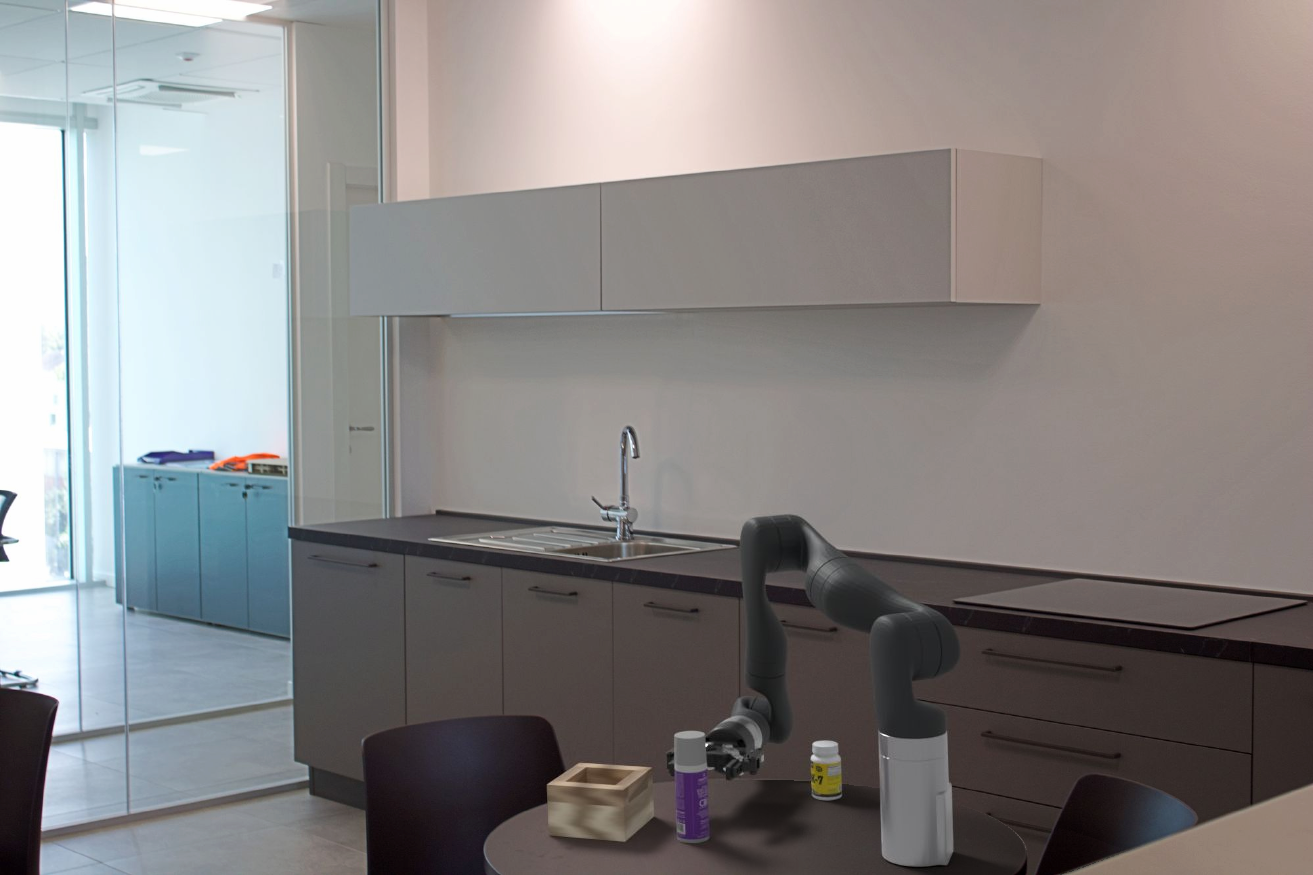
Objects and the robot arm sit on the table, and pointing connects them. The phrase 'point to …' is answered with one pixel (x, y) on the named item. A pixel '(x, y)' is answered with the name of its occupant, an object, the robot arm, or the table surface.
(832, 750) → the supplement bottle
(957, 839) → the table surface
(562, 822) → the wooden open tray
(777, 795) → the table surface
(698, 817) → the container
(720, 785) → the table surface
